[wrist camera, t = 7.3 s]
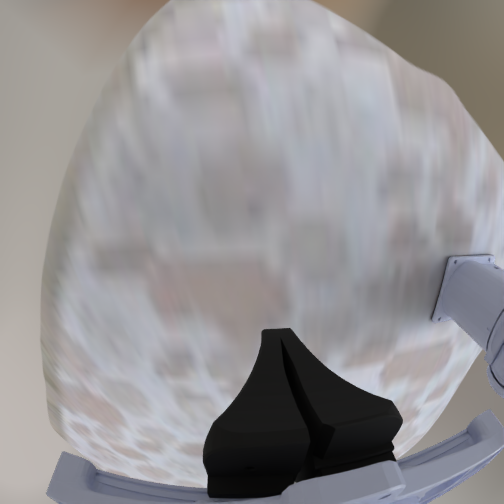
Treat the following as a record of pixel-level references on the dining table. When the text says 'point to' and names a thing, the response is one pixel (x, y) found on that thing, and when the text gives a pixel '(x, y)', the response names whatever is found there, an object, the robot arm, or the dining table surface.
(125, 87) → the dining table surface
